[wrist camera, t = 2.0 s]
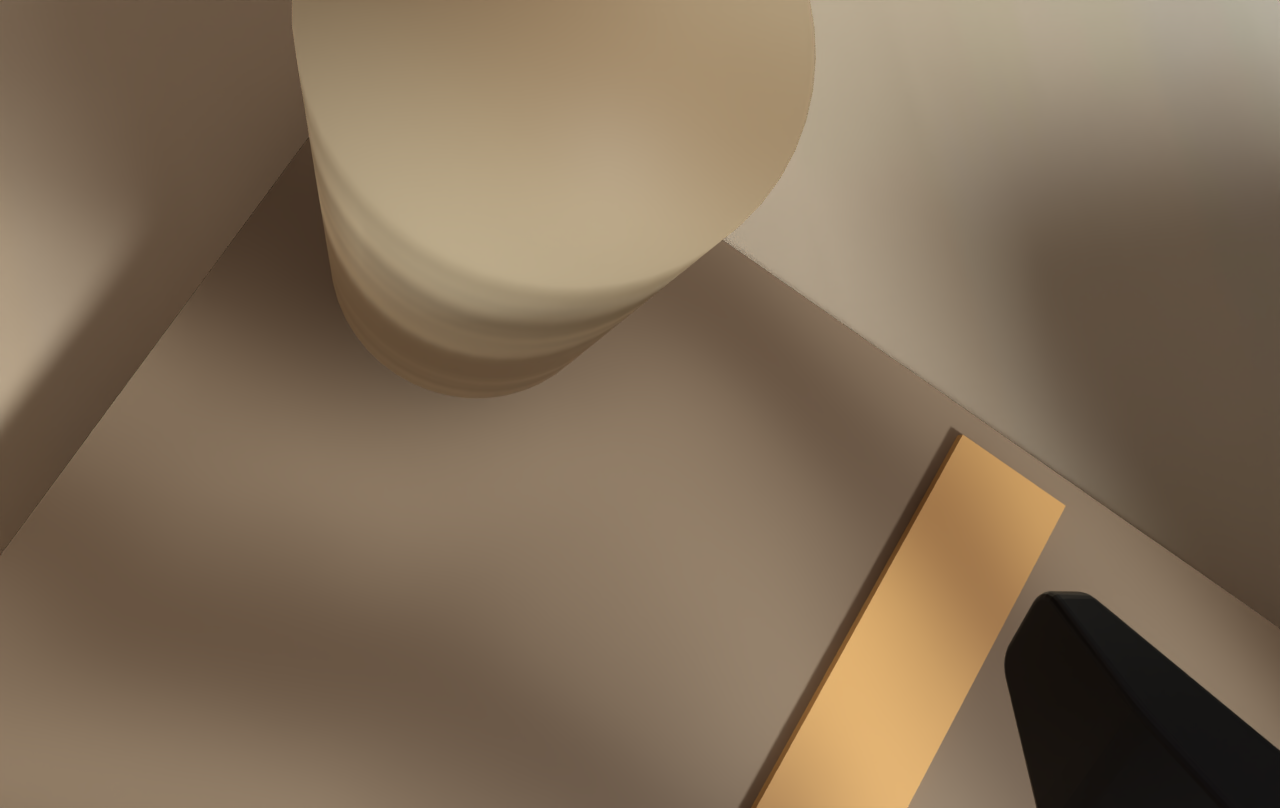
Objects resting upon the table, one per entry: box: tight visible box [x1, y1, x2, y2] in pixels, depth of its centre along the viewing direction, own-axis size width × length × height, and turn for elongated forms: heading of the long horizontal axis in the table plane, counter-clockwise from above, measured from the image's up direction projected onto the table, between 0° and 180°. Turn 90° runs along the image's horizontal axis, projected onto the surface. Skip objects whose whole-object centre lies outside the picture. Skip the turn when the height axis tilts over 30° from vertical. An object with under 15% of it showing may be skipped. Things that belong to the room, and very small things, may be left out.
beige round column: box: [292, 0, 816, 398], centre depth 14 cm, size 4×4×11 cm
